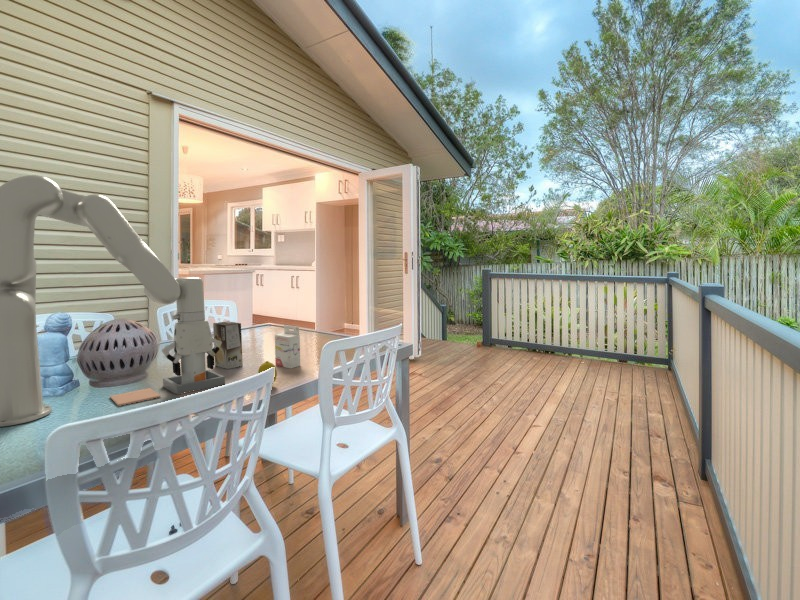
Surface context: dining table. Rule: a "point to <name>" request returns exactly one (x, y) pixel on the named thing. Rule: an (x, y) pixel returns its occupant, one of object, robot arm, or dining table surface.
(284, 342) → the ink cartridge box
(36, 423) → the dining table surface
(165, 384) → the tray
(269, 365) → the lemon
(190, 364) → the skincare box
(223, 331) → the coffee box
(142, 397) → the tile
